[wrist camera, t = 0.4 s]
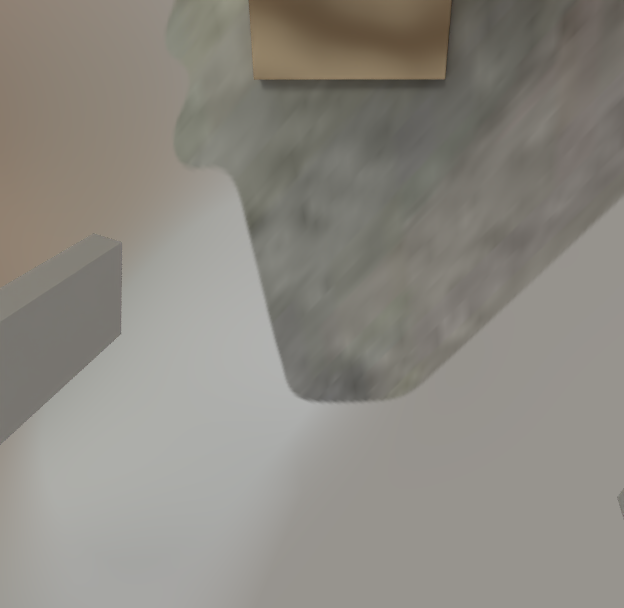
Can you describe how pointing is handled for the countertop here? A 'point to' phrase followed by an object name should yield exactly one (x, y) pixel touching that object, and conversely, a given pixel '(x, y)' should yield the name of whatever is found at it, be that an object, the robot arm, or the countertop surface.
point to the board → (349, 39)
